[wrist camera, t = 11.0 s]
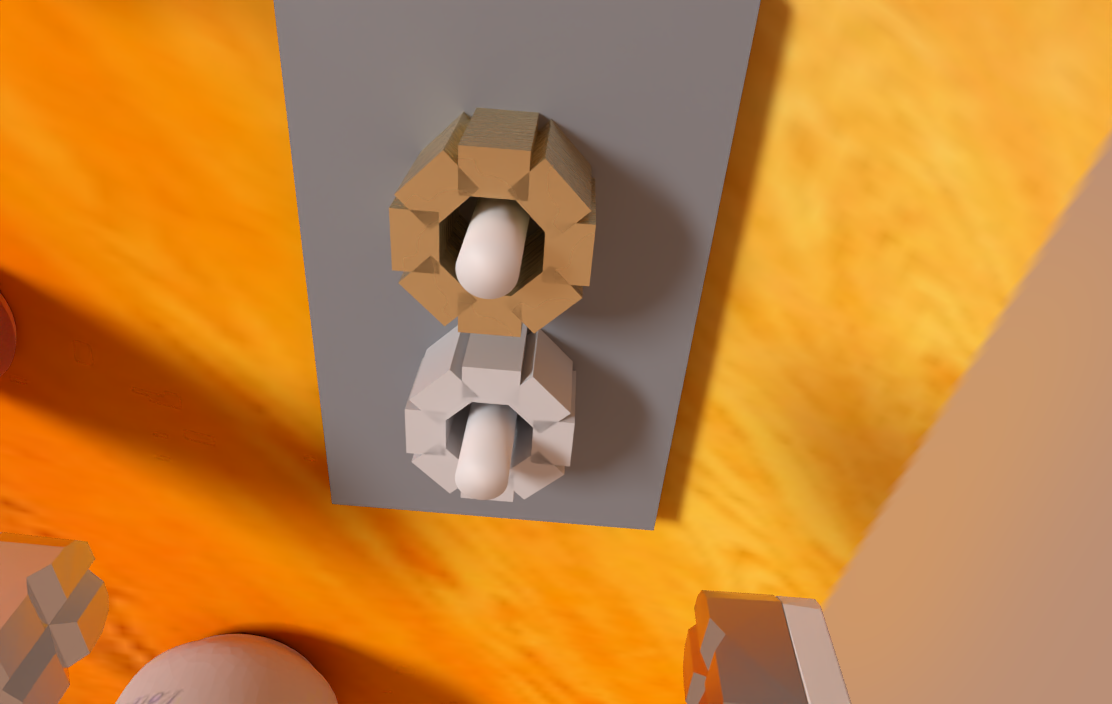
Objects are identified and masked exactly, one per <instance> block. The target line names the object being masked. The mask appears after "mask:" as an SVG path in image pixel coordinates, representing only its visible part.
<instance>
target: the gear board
mask: <svg viewBox="0 0 1112 704" xmlns="http://www.w3.org/2000/svg"><path fill="white" fill-rule="evenodd" d="M760 1H761V0H274V8H275V16H276V25H277V34H278V42H279V51H280V59H281V68H282V77H283V85H284V94H285V102H286V111H287V120H288V128H289V137H290V145H291V154H292V163H293V171H294V180H295V188H296V197H297V206H298V214H299V223H300V231H301V240H302V249H303V257H304V266H305V275H306V283H307V292H308V300H309V309H310V318H311V326H312V335H313V343H314V352H315V361H316V369H317V378H318V386H319V395H320V404H321V412H322V421H323V429H324V438H325V447H326V455H327V464H328V472H329V481H330V490H331V498H332V504H340V505H352V506H365V507H377V508H389V509H401V510H413V511H425V512H437V513H450V514H462V515H474V516H486V517H498V518H510V519H523V520H535V521H547V522H559V523H571V524H583V525H595V526H608V527H620V528H632V529H644V530H654V526H655V521H656V516H657V511H658V506H659V501H660V496H661V491H662V486H663V481H664V476H665V471H666V467H667V462H668V457H669V452H670V447H671V442H672V437H673V432H674V427H675V422H676V417H677V412H678V407H679V402H680V397H681V392H682V387H683V382H684V377H685V373H686V368H687V363H688V358H689V353H690V348H691V343H692V338H693V333H694V328H695V323H696V318H697V313H698V308H699V303H700V298H701V293H702V288H703V283H704V279H705V274H706V269H707V264H708V259H709V254H710V249H711V244H712V239H713V234H714V229H715V224H716V219H717V214H718V209H719V204H720V199H721V194H722V189H723V185H724V180H725V175H726V170H727V165H728V160H729V155H730V150H731V145H732V140H733V135H734V130H735V125H736V120H737V115H738V110H739V105H740V100H741V95H742V91H743V86H744V81H745V76H746V71H747V66H748V61H749V56H750V51H751V46H752V41H753V36H754V31H755V26H756V21H757V16H758V11H759V6H760ZM476 108H489V109H501V110H514V111H526V112H538V113H539V121H538V130H540V129H541V128H542V127H543V126H544V125H545V124H546V123H548V122H549V121H550V120H551V119H552V120H553V121H554V123H555V124H556V125H557V126H558V127H559V128H560V130H561V131H562V132H563V133H564V134H565V135H566V137H567V138H568V139H569V140H570V141H571V142H572V144H573V145H574V146H575V147H576V148H577V150H578V151H579V152H580V153H581V154H582V155H583V157H584V158H585V159H586V160H587V161H588V162H589V164H590V165H591V178H595V201H596V229H595V238H594V247H593V257H592V266H591V276H590V285H589V286H583V298H582V299H580V300H579V301H578V302H576V303H575V304H574V305H572V306H571V307H570V308H568V309H567V310H565V311H564V312H563V313H561V314H560V315H559V316H557V317H556V318H555V319H553V320H552V321H550V322H549V323H548V324H546V325H545V326H544V327H542V328H541V329H540V330H538V331H537V332H536V333H533V332H532V331H531V330H530V329H529V328H528V327H527V326H526V325H525V324H524V323H523V325H522V331H521V337H512V336H499V335H487V334H474V333H462V332H458V316H457V317H456V318H455V319H454V320H452V321H451V322H450V323H448V324H447V325H446V326H444V325H443V324H442V323H440V322H439V321H438V320H437V319H436V318H435V317H434V316H433V315H432V314H431V313H430V312H429V311H428V310H427V309H425V308H424V307H423V306H422V305H421V304H420V303H419V302H418V301H417V300H416V299H415V298H414V297H413V296H412V295H411V294H409V293H408V292H407V291H406V290H405V289H404V288H403V287H402V286H401V285H400V284H399V283H398V282H399V280H400V278H401V276H402V274H403V272H404V271H394V270H392V261H391V241H390V222H389V207H390V205H391V204H392V202H393V200H394V199H395V197H396V196H395V195H394V194H395V192H396V191H397V189H398V188H399V186H400V184H401V183H402V181H403V180H404V178H405V176H406V175H407V173H408V171H409V170H410V168H411V167H412V165H413V163H414V162H415V160H416V159H417V157H418V155H419V154H420V152H421V151H422V150H423V149H424V148H425V147H426V146H427V145H428V144H430V143H431V142H432V141H433V140H434V139H435V138H436V137H437V136H438V135H439V134H440V133H441V132H442V131H444V130H445V129H446V128H447V127H448V126H449V125H450V124H451V123H452V122H453V121H454V120H455V119H456V118H458V117H459V116H460V115H461V114H462V113H463V112H464V113H465V114H466V115H467V116H468V117H469V118H470V119H471V118H472V116H473V114H474V112H475V110H476ZM459 214H460V215H461V216H462V217H463V218H464V219H465V220H466V221H467V222H468V223H469V227H468V230H467V233H466V235H465V238H464V241H463V244H462V247H461V250H460V253H459V255H458V258H457V261H456V275H457V278H458V281H459V282H460V284H461V285H462V287H463V288H464V289H465V290H466V291H467V292H469V293H470V294H472V295H474V296H476V297H479V298H483V299H496V298H500V297H503V296H505V295H506V294H508V293H509V292H510V291H512V289H513V288H514V287H515V285H516V284H517V281H518V278H519V273H520V267H521V262H522V256H523V251H524V245H525V239H527V238H528V237H529V236H530V235H532V234H533V233H534V232H535V231H537V230H538V229H539V228H540V226H539V225H538V224H537V223H536V222H535V221H534V219H533V218H532V217H531V216H530V215H529V214H528V213H527V212H526V211H525V210H524V209H523V208H522V206H521V205H520V204H519V203H518V202H517V201H516V200H509V199H497V198H485V197H473V196H470V197H469V198H468V199H467V200H466V201H464V202H463V203H462V204H461V205H460V206H459Z"/></svg>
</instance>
